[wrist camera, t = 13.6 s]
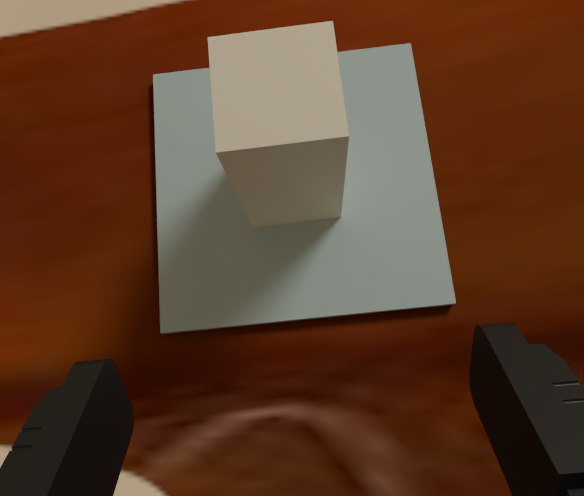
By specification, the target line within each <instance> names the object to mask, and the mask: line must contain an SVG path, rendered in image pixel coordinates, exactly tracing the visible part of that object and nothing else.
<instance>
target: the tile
mask: <svg viewBox="0 0 584 496" xmlns="http://www.w3.org/2000/svg"><path fill="white" fill-rule="evenodd" d="M337 54H338V61H339V68H340V75H341V82H342V89H343V96H344V103H345V110H346V117H347V124H348V131H349V143H348V153H347V163H346V173H345V183H344V193H343V203H342V213H341V217H339V218H331V219H322V220H314V221H305V222H296V223H288V224H279V225H271V226H262V227H254V228H253V226H252V224H251V222H250V220H249V218H248V216H247V214H246V212H245V210H244V208H243V206H242V204H241V202H240V200H239V198H238V196H237V194H236V192H235V190H234V188H233V186H232V184H231V182H230V180H229V178H228V176H227V174H226V172H225V170H224V168H223V166H222V164H221V162H220V160H219V158H218V156H217V154H216V150H215V136H214V122H213V107H212V93H211V78H210V68H204V69H196V70H187V71H179V72H171V73H163V74H155V75H153V91H154V126H155V162H156V197H157V233H158V268H159V304H160V333H162V334H169V333H179V332H189V331H199V330H209V329H219V328H228V327H238V326H248V325H258V324H268V323H278V322H288V321H298V320H308V319H318V318H328V317H338V316H348V315H358V314H367V313H377V312H387V311H397V310H407V309H417V308H427V307H437V306H447V305H454V304H456V300H455V294H454V289H453V283H452V277H451V271H450V266H449V260H448V254H447V249H446V243H445V237H444V231H443V226H442V220H441V214H440V209H439V203H438V197H437V191H436V186H435V180H434V174H433V168H432V163H431V157H430V151H429V146H428V140H427V134H426V128H425V123H424V117H423V111H422V106H421V100H420V94H419V88H418V83H417V77H416V71H415V65H414V60H413V54H412V48H411V43H409V44H401V45H392V46H384V47H376V48H368V49H360V50H351V51H343V52H337Z"/></svg>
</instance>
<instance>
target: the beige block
mask: <svg viewBox="0 0 584 496" xmlns="http://www.w3.org/2000/svg"><path fill="white" fill-rule="evenodd" d="M208 50H209V64H210V78H211V93H212V107H213V122H214V136H215V150H216V154H217V156H218V158H219V160H220V162H221V164H222V166H223V168H224V170H225V172H226V174H227V176H228V178H229V180H230V182H231V184H232V186H233V188H234V190H235V192H236V194H237V196H238V198H239V200H240V202H241V204H242V206H243V208H244V210H245V212H246V214H247V216H248V218H249V220H250V222H251V224H252V226H253V228H254V227H262V226H271V225H279V224H288V223H296V222H305V221H314V220H322V219H331V218H339V217H341V213H342V203H343V193H344V183H345V173H346V163H347V153H348V143H349V131H348V124H347V117H346V110H345V103H344V96H343V89H342V82H341V75H340V68H339V61H338V54H337V47H336V40H335V33H334V26H333V21H328V22H320V23H313V24H305V25H298V26H290V27H282V28H275V29H267V30H260V31H252V32H244V33H237V34H229V35H222V36H214V37H208Z"/></svg>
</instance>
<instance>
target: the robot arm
mask: <svg viewBox="0 0 584 496" xmlns="http://www.w3.org/2000/svg"><path fill="white" fill-rule="evenodd" d="M469 380H470V389H471V395H472V399H473V402H474V405H475V407H476V410H477V412H478V414H479V417H480V419H481V422H482V424H483V426H484V429H485V431H486V433H487V436H488V438H489V441H490V443H491V445H492V448H493V450H494V452H495V455H496V457H497V460H498V462H499V464H500V467H501V469H502V472H503V474H504V476H505V479H506V481H507V483H508V486H509V488H510V491H511V493H512V495H513V496H584V388H583V387H582V385H579V383H578V379H577V378H576V376H575V375H574V374H573V372H572V371H571V369H570V368H569V366H568V365H567V363H566V362H565V360H563V359H562V358H561V357H559V356H558V355H557V354H555V353H554V352H553V351H551V350H550V349H549V348H547V347H546V346H545V345H543V344H535V345H528V343H527V342H526V340H525V338H524V337H523V335H522V334H521V332H520V330H519V329H518V327H517V326H516V325H515V324H514V323H513V322H506V323H495V324H485V325H477V326H476V327H475V329H474V335H473V345H472V355H471V365H470V376H469ZM133 426H134V413H133V407H132V404H131V401H130V399H129V396H128V394H127V391H126V389H125V386H124V384H123V381H122V379H121V376H120V373H119V371H118V368H117V366H116V364H115V362H114V361H113V360H112V359H103V360H93V361H82V362H76V363H75V364H74V365H73V366H72V368H71V370H70V372H69V374H68V376H67V378H66V380H65V382H64V384H63V386H62V387H58V388H52V389H51V390H50V391H49V392H48V393H47V394H46V395H45V396H44V397H43V398H42V399H41V400H40V401H39V402H38V403H37V404H36V405H35V406H34V407H33V409H32V411H31V413H30V414H29V416H28V418H27V420H26V422H25V424H24V426H23V427H22V433H19V435H18V437H17V438H16V440H15V442H14V444H13V446H12V451H9V453H8V455H7V457H6V459H5V460H4V462H3V464H2V466H1V468H0V496H113V494H114V491H115V487H116V484H117V481H118V478H119V475H120V471H121V468H122V465H123V462H124V458H125V455H126V452H127V449H128V446H129V442H130V439H131V436H132V432H133Z"/></svg>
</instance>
